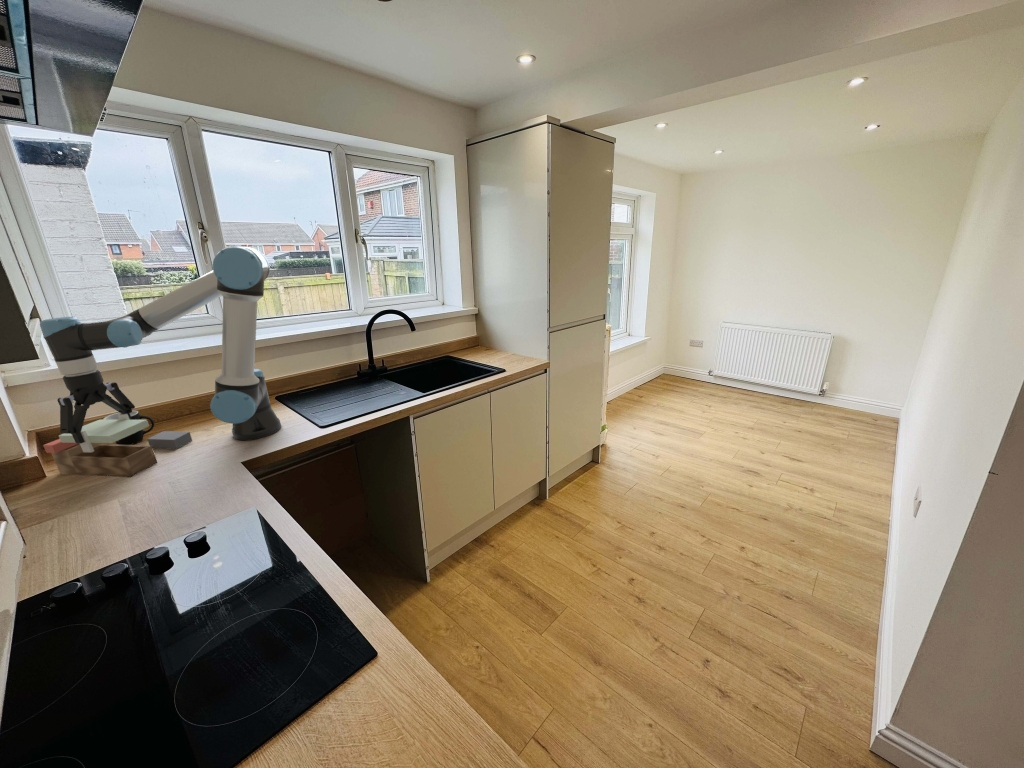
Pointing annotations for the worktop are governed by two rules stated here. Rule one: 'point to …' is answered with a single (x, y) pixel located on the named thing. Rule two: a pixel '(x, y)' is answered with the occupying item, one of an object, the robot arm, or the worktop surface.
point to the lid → (108, 430)
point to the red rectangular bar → (57, 446)
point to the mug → (135, 436)
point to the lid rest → (170, 440)
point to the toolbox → (105, 460)
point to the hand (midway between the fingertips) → (110, 442)
